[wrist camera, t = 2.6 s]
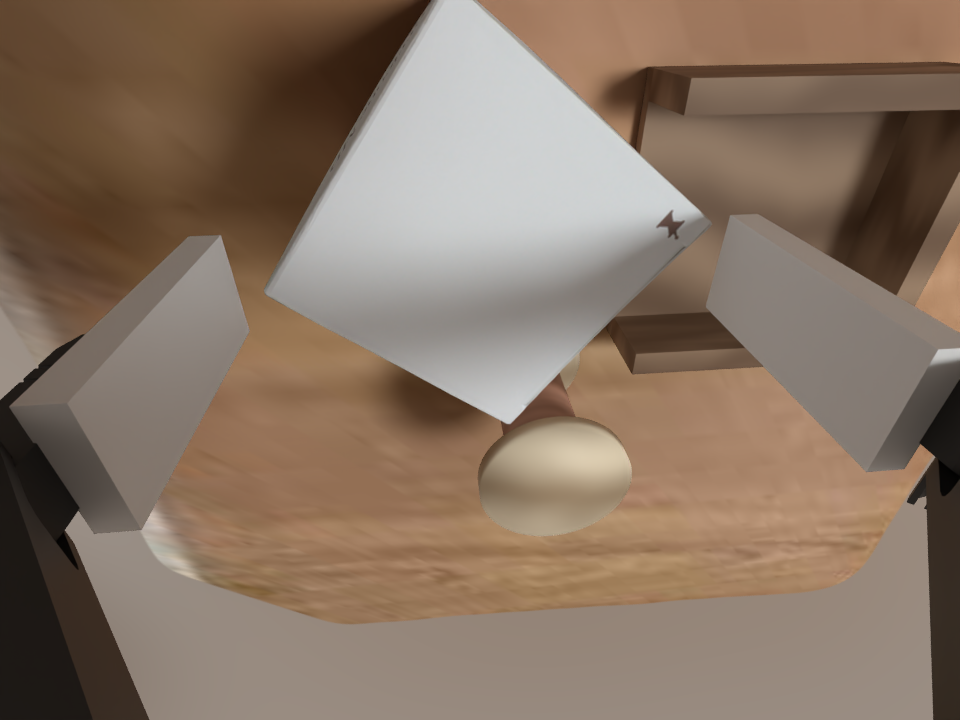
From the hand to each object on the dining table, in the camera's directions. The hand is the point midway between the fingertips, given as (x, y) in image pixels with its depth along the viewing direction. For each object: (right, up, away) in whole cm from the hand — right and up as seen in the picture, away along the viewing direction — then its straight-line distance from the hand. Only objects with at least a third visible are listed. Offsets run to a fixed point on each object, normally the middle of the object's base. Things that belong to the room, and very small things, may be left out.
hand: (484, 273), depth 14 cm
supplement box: (-1, +10, +14) cm, 18 cm away
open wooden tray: (+16, +7, +18) cm, 25 cm away
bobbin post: (+3, -2, +23) cm, 23 cm away
